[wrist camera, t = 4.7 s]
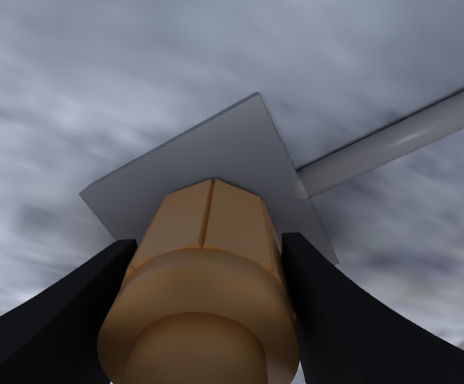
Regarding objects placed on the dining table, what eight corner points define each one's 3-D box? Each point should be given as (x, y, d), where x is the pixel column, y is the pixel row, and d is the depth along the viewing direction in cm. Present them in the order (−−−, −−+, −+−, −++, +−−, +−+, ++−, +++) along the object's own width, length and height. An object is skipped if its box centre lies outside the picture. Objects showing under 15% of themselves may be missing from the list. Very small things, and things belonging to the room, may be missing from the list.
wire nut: (249, 164, 10) (266, 294, 5) (288, 265, 12) (333, 444, 6) (132, 207, 11) (23, 362, 5) (185, 295, 13) (146, 478, 7)
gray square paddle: (575, -86, 9) (889, -227, 4) (586, 145, 11) (786, 191, 7) (90, 184, 12) (16, 243, 8) (188, 308, 15) (169, 399, 11)
